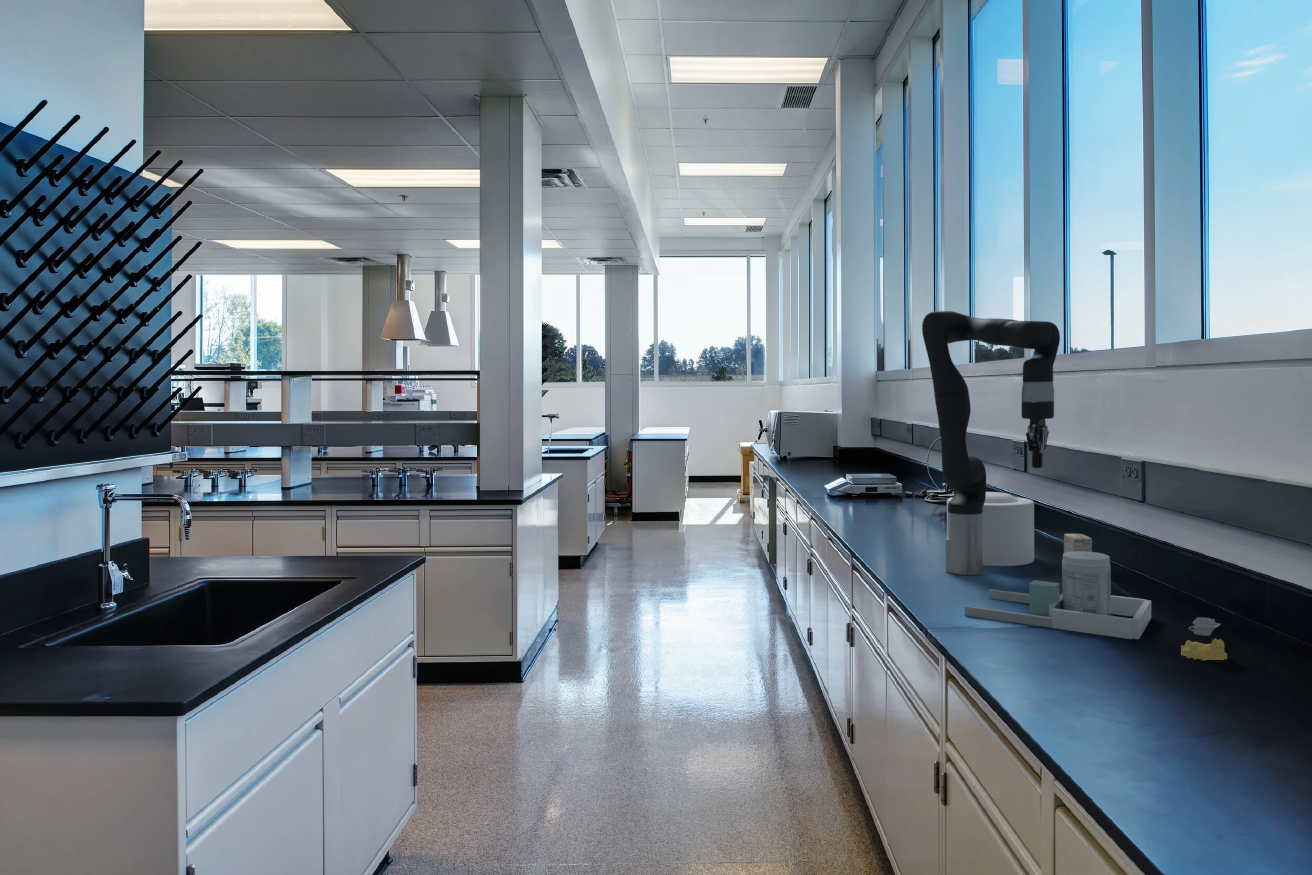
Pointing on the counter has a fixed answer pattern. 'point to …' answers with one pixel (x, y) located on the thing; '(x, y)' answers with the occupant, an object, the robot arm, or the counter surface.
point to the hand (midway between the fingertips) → (1037, 467)
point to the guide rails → (1008, 615)
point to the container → (1007, 530)
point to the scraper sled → (1044, 597)
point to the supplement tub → (1086, 582)
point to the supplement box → (1077, 543)
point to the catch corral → (1108, 619)
